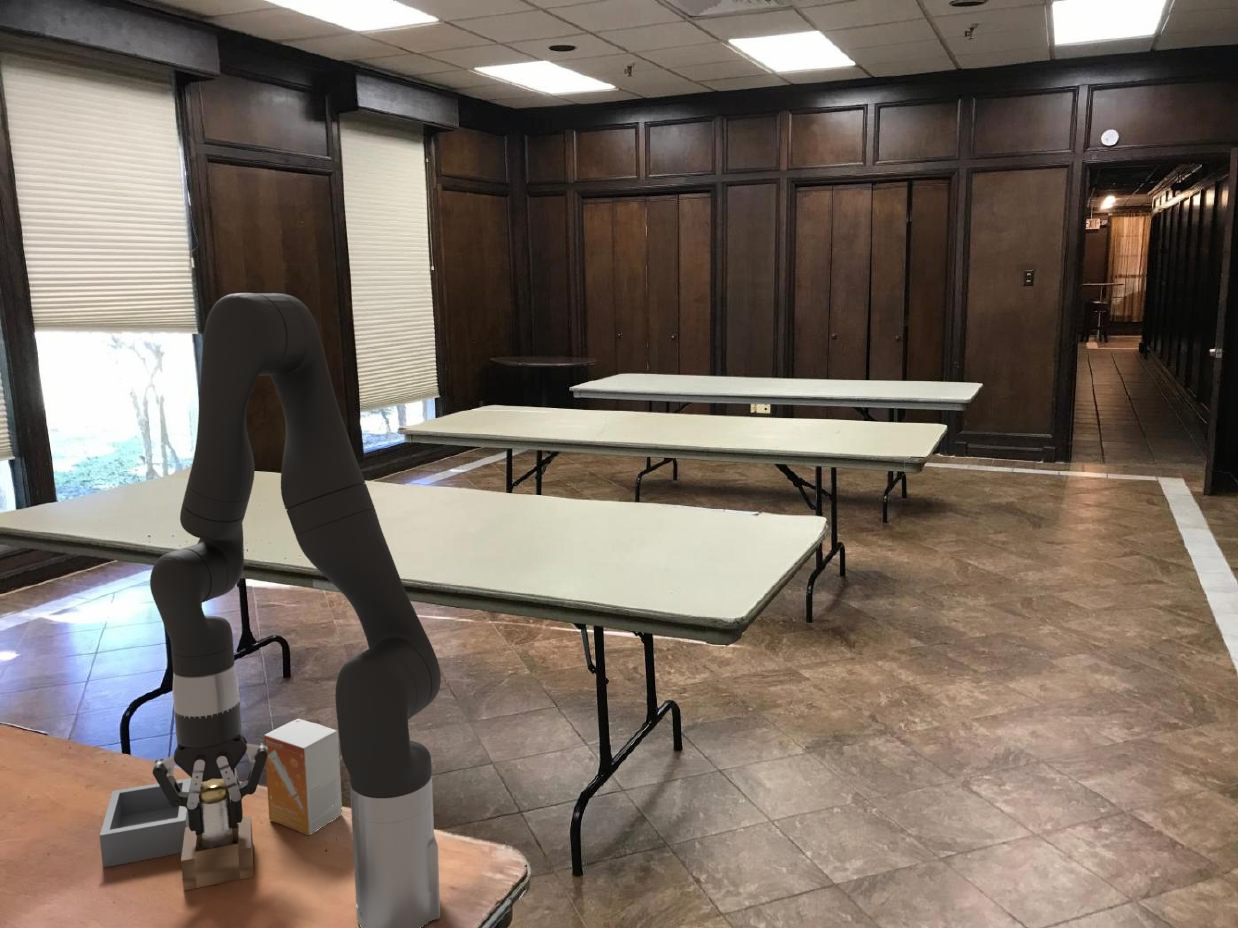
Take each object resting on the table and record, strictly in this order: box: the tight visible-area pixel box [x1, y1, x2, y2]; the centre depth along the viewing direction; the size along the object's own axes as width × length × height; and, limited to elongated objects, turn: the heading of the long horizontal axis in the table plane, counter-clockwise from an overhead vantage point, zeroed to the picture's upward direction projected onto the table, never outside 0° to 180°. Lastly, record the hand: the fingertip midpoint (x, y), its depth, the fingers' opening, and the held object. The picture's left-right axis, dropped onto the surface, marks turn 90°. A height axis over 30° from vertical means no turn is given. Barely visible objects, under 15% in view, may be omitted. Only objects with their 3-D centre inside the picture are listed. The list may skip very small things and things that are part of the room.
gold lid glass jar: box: [198, 779, 234, 850], centre depth 120 cm, size 4×4×11 cm
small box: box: [263, 718, 343, 836], centre depth 131 cm, size 8×6×13 cm
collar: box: [180, 815, 254, 891], centre depth 121 cm, size 8×8×4 cm
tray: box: [99, 777, 191, 869], centre depth 128 cm, size 10×12×4 cm
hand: (217, 827), depth 120 cm, fingers closed on gold lid glass jar, 3 cm apart
